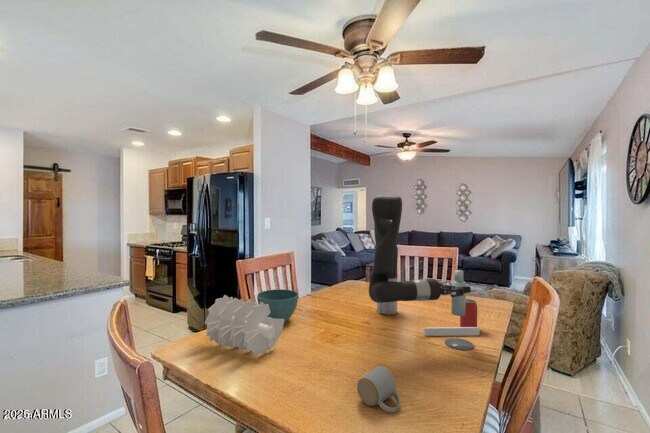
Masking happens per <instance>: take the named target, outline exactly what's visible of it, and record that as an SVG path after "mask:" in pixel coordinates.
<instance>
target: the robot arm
mask: <svg viewBox="0 0 650 433" xmlns="http://www.w3.org/2000/svg"><path fill="white" fill-rule="evenodd" d="M371 211H372V217H373V218H372V219H373V226H374V240H375V241H374V242H375V250H374V258H373V259H374V260H373V269H372V274H371V278H370V280H369V284H368V295H369V298H370V299H371V301H373V302H374V303H376V310H377V312H378V314H380V315H390V316H391V315H395V314H397V313H398V302H413V301H416V302H424V301H425V302H426V301H427V302H428V301H438V300H439V299H440V297H441V296H445V297H447V296H450V297H451V298H452V297H457V296H463V295H464V293H466V294H470V293H472V291H471V290H472V289H471V286H468V285H466V287H455V286H454V285H452V282H446V281H438V280H437V279H434V278H425V279H424V278H423V279H414V280H403V281H402V280H401V281H398V258H399V248H398V246H397V241H398V238H399V232H400V225H401V218H402V213H403V200H402V197H401V196H398V195H397V196H396V195H385V194H384V195H381V194H378V195H376V196H374V197H373V199H372V203H371ZM452 288H453V289H452Z"/></svg>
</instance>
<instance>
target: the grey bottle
mask: <svg viewBox="0 0 650 433" xmlns="http://www.w3.org/2000/svg"><path fill="white" fill-rule="evenodd" d="M451 284H452V285H454V286H455V287H466V286H467V282H466V281H465V280H464V270H461V269H459V270H458V269H454V279H453V280H451ZM452 289H453V288H452ZM466 295H467V293H464V295H463V296H457V297H451V308H450V309H451V312H450V314H451V315H454V316H457V317H458V316H459V317H460V316H465V306H466V299H467V298H466V297H467V296H466Z"/></svg>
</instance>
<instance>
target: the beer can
mask: <svg viewBox="0 0 650 433" xmlns="http://www.w3.org/2000/svg"><path fill="white" fill-rule="evenodd" d="M459 327H478V305H477V301H476V300H475V299H468V298H466V306H465V316H459Z"/></svg>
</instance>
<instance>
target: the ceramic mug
mask: <svg viewBox="0 0 650 433" xmlns="http://www.w3.org/2000/svg"><path fill="white" fill-rule="evenodd" d="M356 389H357V394H358V396H359V398H360V400H361V401H362V402H363V404H365V405H367V406H369V407H375V406H380V408H381V409H382V410H384V411H385V412H387V413H396V412H397V411H398V410H399V409H400V407H401V398H400V396H399V394H398V393H397V381H396V378H395V376H394V375H393V373H392V372H391V371H390V370H389V369H388V368H387V367H385V366H382V365H378V366H376V367H374V368H373V369H372V370H370V371H369V372H367V373H366V374H364V375H363V376H362V377H361V378H360V379H359V380H358V381H357V384H356ZM391 397H393V398H394V399H395V401H396V403H397V406H395V407H391V406H388V405H386V404H385V403H384V401H387V400H388V399H390V398H391Z"/></svg>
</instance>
